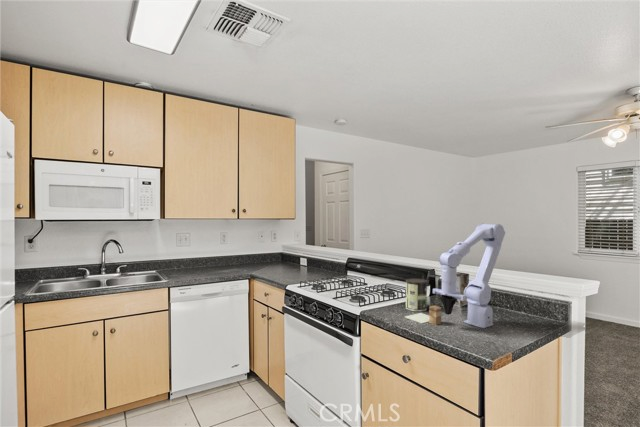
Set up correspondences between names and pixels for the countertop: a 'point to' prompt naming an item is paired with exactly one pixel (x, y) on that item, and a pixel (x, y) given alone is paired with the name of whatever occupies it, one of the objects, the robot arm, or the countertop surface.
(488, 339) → the countertop surface
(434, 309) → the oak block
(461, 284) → the coffee box
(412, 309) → the coffee can
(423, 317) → the felt mat
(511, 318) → the countertop surface
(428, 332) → the countertop surface
